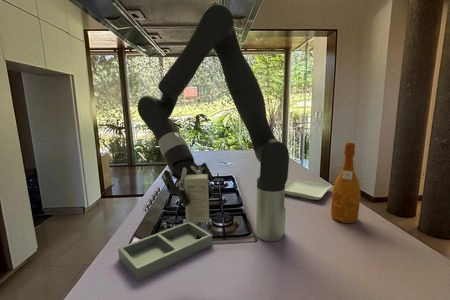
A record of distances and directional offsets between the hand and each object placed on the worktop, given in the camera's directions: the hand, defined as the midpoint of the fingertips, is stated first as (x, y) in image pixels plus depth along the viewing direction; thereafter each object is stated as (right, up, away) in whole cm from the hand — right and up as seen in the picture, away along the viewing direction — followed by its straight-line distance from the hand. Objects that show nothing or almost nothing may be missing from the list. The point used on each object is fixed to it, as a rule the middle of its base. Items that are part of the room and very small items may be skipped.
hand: (200, 200), depth 70 cm
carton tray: (-11, -18, +11) cm, 24 cm away
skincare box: (-1, -6, +2) cm, 6 cm away
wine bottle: (+53, -14, +32) cm, 64 cm away
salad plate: (+47, -8, +61) cm, 77 cm away
